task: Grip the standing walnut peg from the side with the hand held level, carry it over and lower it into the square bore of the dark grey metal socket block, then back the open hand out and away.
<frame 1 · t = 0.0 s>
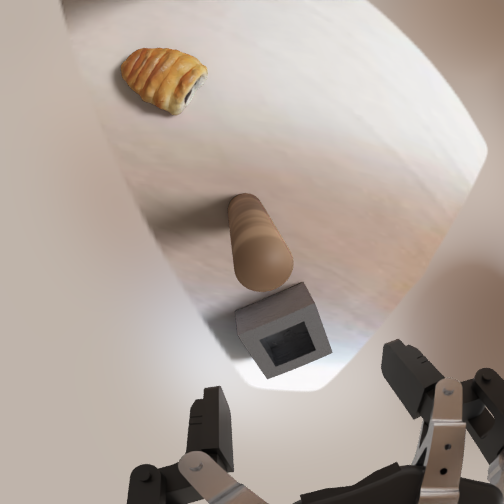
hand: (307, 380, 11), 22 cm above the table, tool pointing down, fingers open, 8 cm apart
socket block: (281, 322, 38), on the table
peg: (245, 210, 31), on the table
pastry: (166, 81, 24), on the table
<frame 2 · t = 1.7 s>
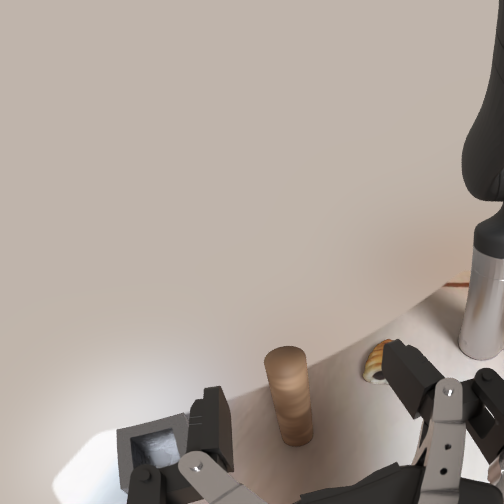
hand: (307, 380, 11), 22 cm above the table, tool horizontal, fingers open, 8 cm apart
socket block: (170, 468, 25), on the table
peg: (297, 434, 28), on the table
pastry: (385, 369, 36), on the table
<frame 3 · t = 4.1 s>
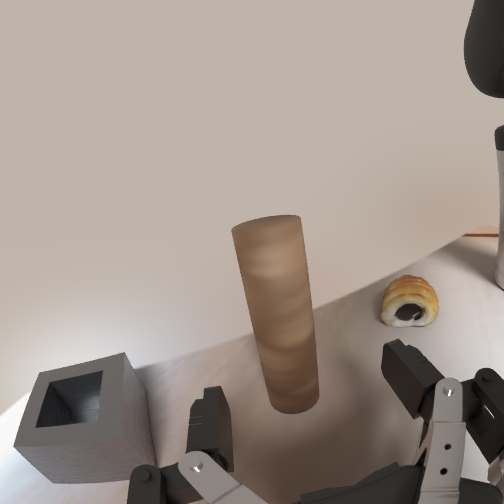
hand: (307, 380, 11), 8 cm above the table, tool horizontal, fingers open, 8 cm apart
socket block: (100, 437, 16), on the table
peg: (294, 395, 19), on the table
pastry: (408, 312, 27), on the table
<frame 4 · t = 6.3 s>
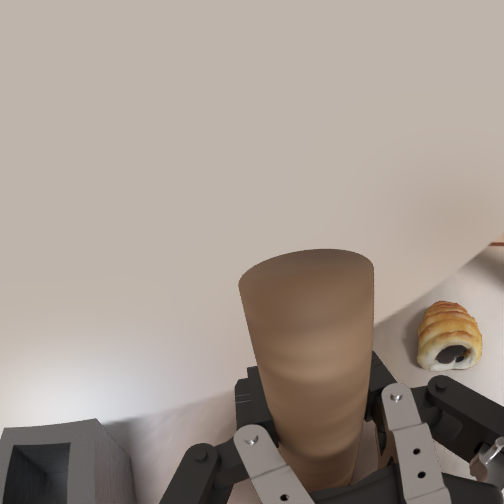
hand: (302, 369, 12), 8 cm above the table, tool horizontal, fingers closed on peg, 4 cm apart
peg: (320, 475, 12), on the table, touching gripper
pastry: (444, 348, 19), on the table
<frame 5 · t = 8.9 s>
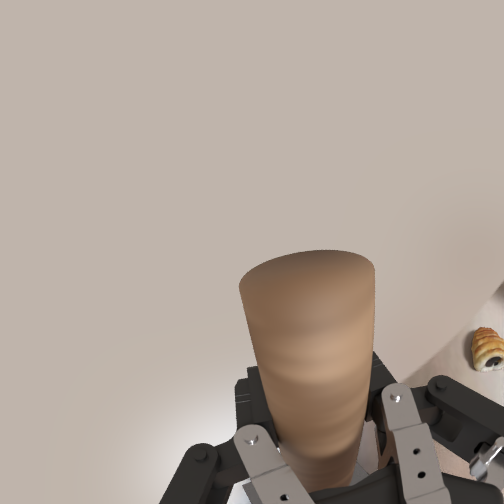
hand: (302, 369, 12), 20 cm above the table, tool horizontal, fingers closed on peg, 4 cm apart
peg: (320, 475, 12), point 13 cm above the table, touching gripper
pastry: (485, 357, 27), on the table
when the fingers open (11 cm above the table, at t = 11.5 s): peg drops 2 cm, resting on socket block.
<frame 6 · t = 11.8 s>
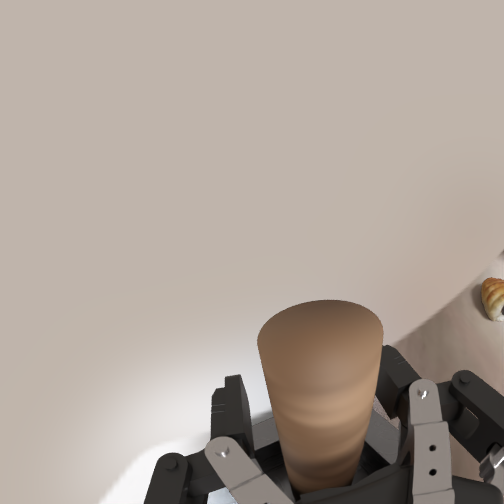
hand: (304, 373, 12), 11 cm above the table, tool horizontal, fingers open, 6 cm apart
socket block: (320, 489, 13), on the table
peg: (321, 485, 12), point 1 cm above the table, touching socket block
pastry: (498, 308, 24), on the table
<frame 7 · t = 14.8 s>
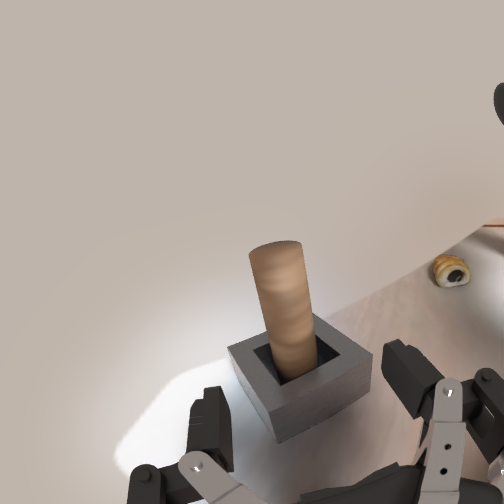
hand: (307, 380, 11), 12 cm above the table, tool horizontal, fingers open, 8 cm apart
socket block: (300, 388, 25), on the table
peg: (300, 382, 24), point 1 cm above the table, touching socket block
pastry: (448, 278, 36), on the table
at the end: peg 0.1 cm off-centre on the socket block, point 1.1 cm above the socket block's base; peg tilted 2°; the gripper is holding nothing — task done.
